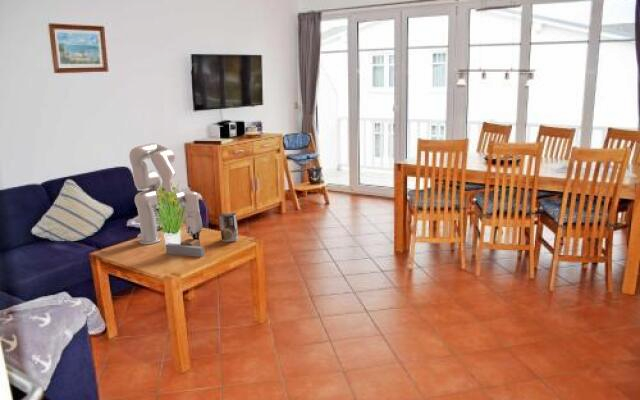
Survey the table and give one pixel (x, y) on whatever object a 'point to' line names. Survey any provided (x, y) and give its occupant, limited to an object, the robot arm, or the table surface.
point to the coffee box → (228, 227)
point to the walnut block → (191, 242)
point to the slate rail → (185, 250)
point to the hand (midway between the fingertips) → (196, 243)
